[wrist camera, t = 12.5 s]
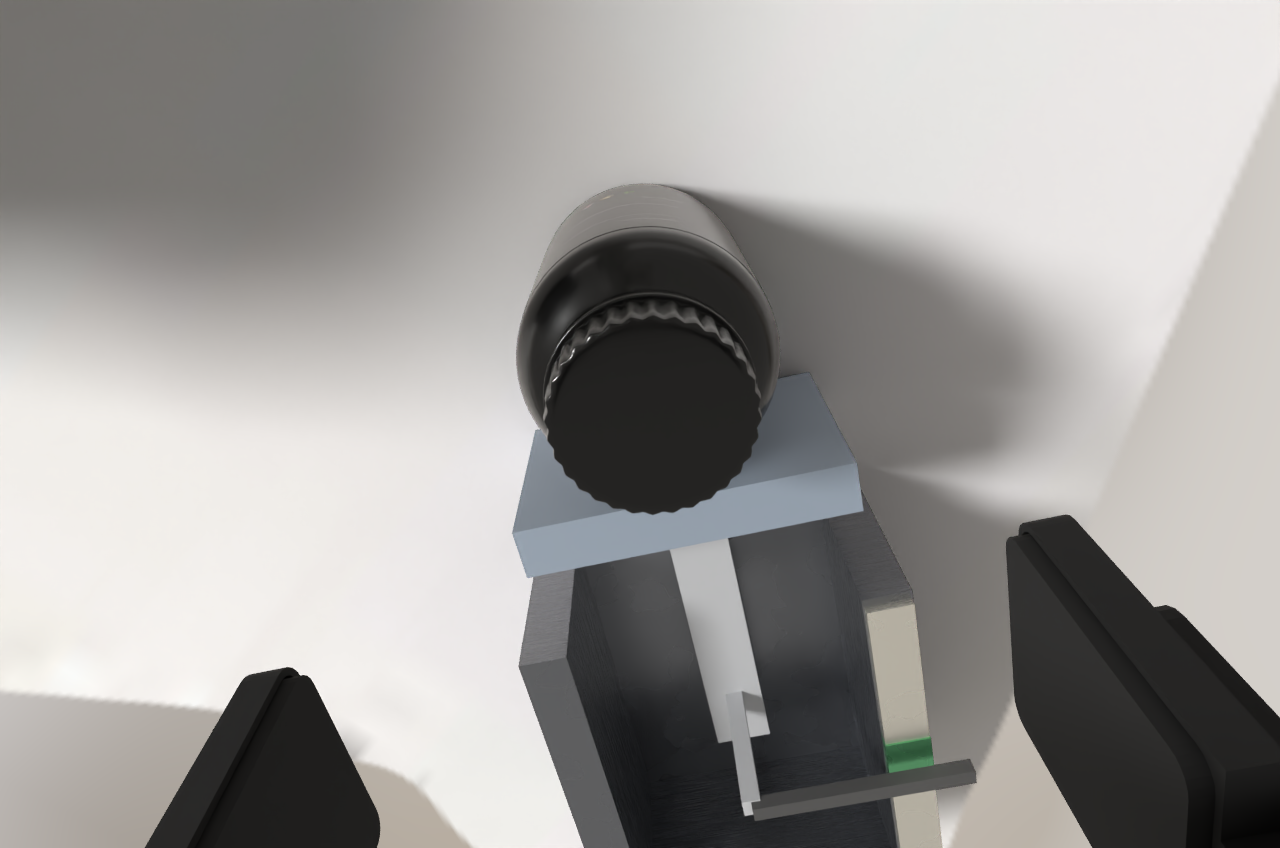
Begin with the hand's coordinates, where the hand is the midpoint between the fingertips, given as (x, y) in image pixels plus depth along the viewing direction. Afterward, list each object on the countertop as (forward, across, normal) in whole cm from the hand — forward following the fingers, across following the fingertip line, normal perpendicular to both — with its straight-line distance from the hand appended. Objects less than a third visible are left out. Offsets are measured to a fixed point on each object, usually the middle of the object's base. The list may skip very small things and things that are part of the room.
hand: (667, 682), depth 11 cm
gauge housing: (+20, 0, +16) cm, 25 cm away
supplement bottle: (+20, 0, 0) cm, 20 cm away
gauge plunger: (+19, -1, +11) cm, 22 cm away
